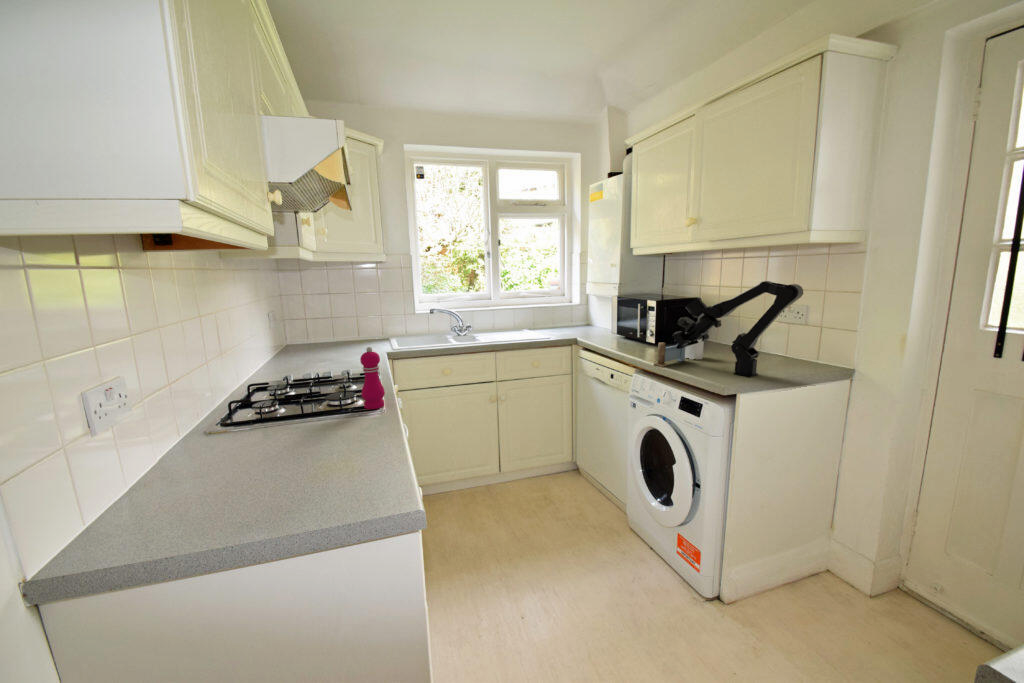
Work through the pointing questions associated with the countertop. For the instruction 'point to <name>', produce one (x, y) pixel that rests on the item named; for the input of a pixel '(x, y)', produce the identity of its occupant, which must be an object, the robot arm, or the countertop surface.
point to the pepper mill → (372, 381)
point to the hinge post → (661, 355)
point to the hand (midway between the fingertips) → (678, 348)
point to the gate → (674, 353)
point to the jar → (695, 350)
